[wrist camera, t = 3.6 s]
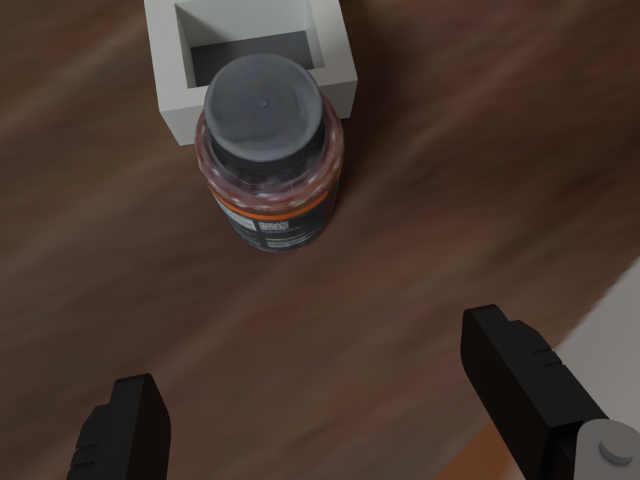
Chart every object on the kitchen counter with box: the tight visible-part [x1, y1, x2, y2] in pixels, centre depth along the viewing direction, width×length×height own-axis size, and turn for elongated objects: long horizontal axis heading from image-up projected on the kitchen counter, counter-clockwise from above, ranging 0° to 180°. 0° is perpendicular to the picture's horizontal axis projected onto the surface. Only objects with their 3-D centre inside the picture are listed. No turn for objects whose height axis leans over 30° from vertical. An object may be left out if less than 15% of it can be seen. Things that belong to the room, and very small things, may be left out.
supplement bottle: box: [194, 52, 345, 253], centre depth 21 cm, size 6×6×11 cm
